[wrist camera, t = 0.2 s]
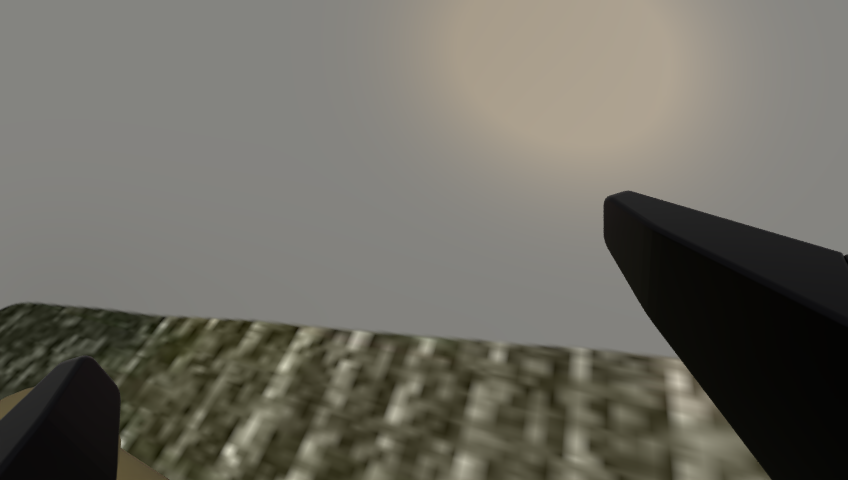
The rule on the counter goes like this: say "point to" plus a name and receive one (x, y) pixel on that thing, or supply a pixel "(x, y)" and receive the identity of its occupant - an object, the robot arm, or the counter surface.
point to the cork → (130, 472)
